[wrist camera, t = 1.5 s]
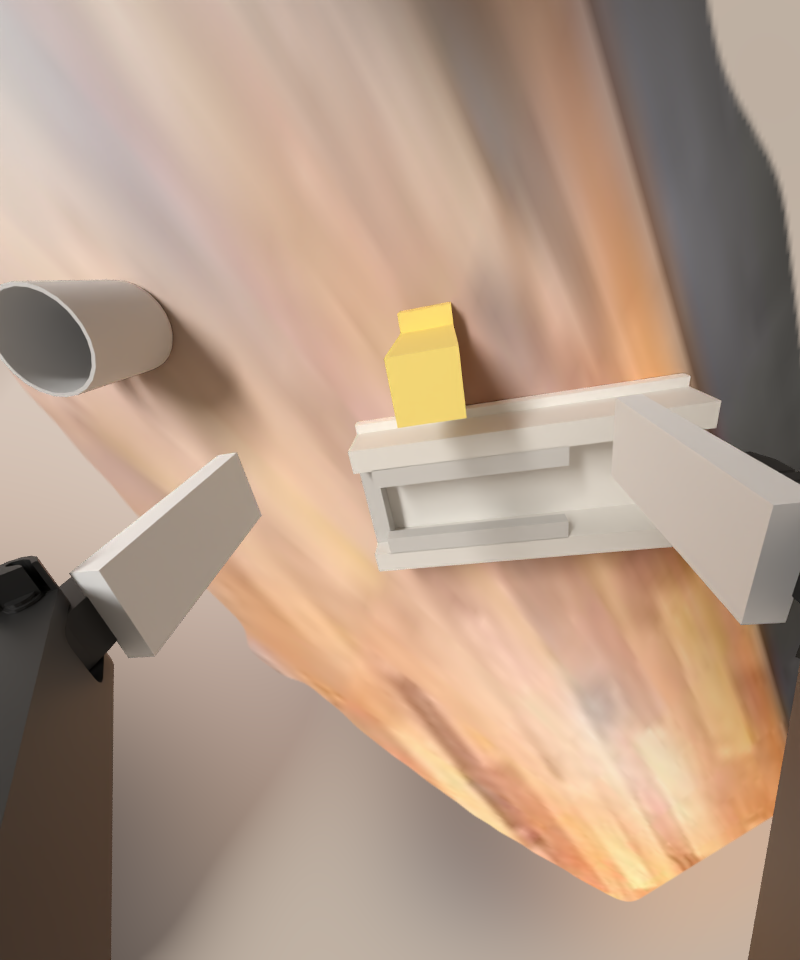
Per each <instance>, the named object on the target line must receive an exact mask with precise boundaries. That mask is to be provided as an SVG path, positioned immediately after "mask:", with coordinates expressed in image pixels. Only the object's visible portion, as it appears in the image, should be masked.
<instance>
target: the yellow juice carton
mask: <svg viewBox="0 0 800 960" xmlns="http://www.w3.org/2000/svg"><path fill="white" fill-rule="evenodd" d="M397 315H398V321H399V327H400V333H401V334H400V335H399V337H398V338H397V340H396V341H395V343H394V344H393V346H392V347H391V349H390V350H389V352H388V353H387V355H386V356H385V358H384V361H385V366H386V371H387V377H388V382H389V387H390V392H391V397H392V402H393V407H394V412H395V417H396V422H397V427H398V428H402V427H409V426H415V425H422V424H429V423H436V422H443V421H450V420H457V419H464V418H467V416H466V407H465V399H464V390H463V381H462V372H461V363H460V354H459V345H458V341H457V337H456V333H455V329H454V325H453V318H452V309H451V302H447V303H442V304H436V305H431V306H426V307H421V308H416V309H411V310H405V311H400V312H399V313H398V314H397Z"/></svg>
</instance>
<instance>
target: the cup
mask: <svg viewBox="0 0 800 960" xmlns="http://www.w3.org/2000/svg"><path fill="white" fill-rule="evenodd" d="M172 341H173V334H172V329H171V324H170V322H169V319H168V317H167V315H166V313H165V311H164V310H163V308H162V307H161V306H160V304H159V303H158V302H157V301H156V300H155V299H154V298H153V297H152V296H151V295H150V294H149V293H148V292H147V291H145V290H144V289H142V288H141V287H139V286H137V285H135V284H132V283H130V282H127V281H120V280H58V281H11V282H8V283H4V284H0V359H1V360H2V361H3V363H4V364H5V365H6V366H7V367H8V368H9V369H10V370H11V371H12V373H13V374H15V375H16V376H17V377H18V378H20V379H21V380H22V381H23V382H24V383H26V384H27V385H29V386H31V387H33V388H34V389H36V390H38V391H40V392H43V393H46V394H49V395H52V396H59V397H69V396H74V395H78V394H81V393H84V392H87V391H90V390H93V389H96V388H99V387H102V386H105V385H108V384H111V383H114V382H117V381H120V380H123V379H126V378H129V377H132V376H135V375H138V374H141V373H144V372H147V371H150V370H153V369H155V368H157V367H158V366H160V365H162V364H163V363H164V362H165V361H166V360H167V358H168V357H169V355H170V352H171V349H172Z"/></svg>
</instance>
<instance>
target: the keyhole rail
mask: <svg viewBox="0 0 800 960" xmlns="http://www.w3.org/2000/svg"><path fill="white" fill-rule="evenodd" d="M690 377H691V376H689V375H687V374H684V373H681V374H674V375H668V376H661V377H654V378H648V379H641V380H634V381H628V382H621V383H614V384H608V385H601V386H594V387H587V388H581V389H574V390H567V391H561V392H554V393H547V394H541V395H534V396H527V397H521V398H514V399H507V400H500V401H494V402H487V403H480V404H474V405H467V406H465V407H466V416H467V418H464V419H457V420H450V421H443V422H436V423H429V424H422V425H415V426H409V427H402V428H398V427H397V422H396V417H395V416H393V417H387V418H380V419H373V420H367V421H360V422H357V423H356V425H355V427H356V431H357V435H356V437H355V439H354V441H353V443H352V445H351V447H350V449H349V451H348V454H349V458H350V462H351V466H352V470H353V473H354V474H357V473H360V476H361V480H362V483H363V487H364V491H365V495H366V499H367V503H368V507H369V511H370V515H371V519H372V523H373V526H374V530H375V534H376V538H377V542H378V544H377V548H376V552H375V557H376V561H377V564H378V568H379V571H390V570H402V569H414V568H426V567H438V566H450V565H462V564H474V563H486V562H498V561H510V560H522V559H534V558H546V557H557V556H569V555H581V554H593V553H605V552H617V551H629V550H641V549H653V548H665V547H673V546H672V545H671V544H670V543H669V541H668V540H667V539H666V538H665V537H664V536H663V534H662V533H661V532H660V531H659V530H658V529H657V528H656V526H655V525H654V524H653V523H652V522H651V521H650V519H649V518H648V517H647V516H646V515H645V514H644V513H643V511H642V510H641V509H640V508H639V507H638V506H637V505H636V503H635V502H634V501H633V500H632V499H631V498H630V496H629V495H628V494H627V493H626V492H625V491H624V490H623V488H622V487H621V486H620V485H619V484H618V483H617V481H616V480H615V479H614V478H613V477H612V476H611V469H612V452H613V435H614V418H615V401H616V398H617V397H624V396H631V395H638V394H643V395H645V396H646V397H648V398H650V399H652V400H653V401H655V402H657V403H659V404H660V405H662V406H664V407H666V408H667V409H669V410H671V411H672V412H674V413H676V414H678V415H679V416H681V417H683V418H685V419H686V420H688V421H690V422H692V423H693V424H695V425H697V426H699V427H700V428H702V429H711V428H716V427H717V421H718V416H719V410H720V405H721V400H718V399H716V398H714V397H712V396H710V395H707V394H705V393H703V392H701V391H699V390H696V389H694V388H692V387H690V386H689V383H690Z"/></svg>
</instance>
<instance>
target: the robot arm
mask: <svg viewBox="0 0 800 960" xmlns="http://www.w3.org/2000/svg"><path fill="white" fill-rule="evenodd" d="M611 476H612V477H613V478H614V479H615V480H616V481H617V483H618V484H619V485H620V486H621V487H622V488H623V490H624V491H625V492H626V493H627V494H628V495H629V496H630V498H631V499H632V500H633V501H634V502H635V503H636V505H637V506H638V507H639V508H640V509H641V510H642V511H643V513H644V514H645V515H646V516H647V517H648V518H649V519H650V521H651V522H652V523H653V524H654V525H655V526H656V528H657V529H658V530H659V531H660V532H661V533H662V534H663V536H664V537H665V538H666V539H667V540H668V541H669V543H670V544H671V545H672V546H673V547H674V548H675V549H676V551H677V552H678V553H679V554H680V555H681V556H682V557H683V559H684V560H685V561H686V562H687V563H688V564H689V566H690V567H691V568H692V569H693V570H694V571H695V572H696V574H697V575H698V576H699V577H700V578H701V579H702V581H703V582H704V583H705V584H706V585H707V586H708V587H709V589H710V590H711V591H712V592H713V593H714V594H715V595H716V597H717V598H718V599H719V600H720V601H721V602H722V604H723V605H724V606H725V607H726V608H727V609H728V610H729V612H730V613H731V614H732V615H733V616H734V617H735V619H736V620H737V621H738V622H739V623H740V624H741V625H749V624H768V623H785V622H786V619H787V616H788V613H789V610H790V607H791V605H792V602H793V599H796V600H797V601H798V602H799V603H800V472H795V469H793V468H791V467H789V466H787V465H785V464H783V463H782V462H780V461H778V460H776V459H773V458H770V457H766V456H763V455H759V454H756V453H753V452H742V451H741V450H739V449H737V448H735V447H734V446H732V445H730V444H728V443H727V442H725V441H723V440H721V439H720V438H718V437H716V436H714V435H713V434H711V433H709V432H707V431H706V430H704V429H702V428H700V427H699V426H697V425H695V424H693V423H692V422H690V421H688V420H686V419H685V418H683V417H681V416H679V415H678V414H676V413H674V412H672V411H671V410H669V409H667V408H666V407H664V406H662V405H660V404H659V403H657V402H655V401H653V400H652V399H650V398H648V397H646V396H645V395H643V394H638V395H631V396H624V397H617V398H616V401H615V418H614V435H613V452H612V469H611ZM261 516H262V515H261V512H260V510H259V507H258V505H257V502H256V500H255V497H254V495H253V492H252V490H251V487H250V485H249V482H248V479H247V477H246V474H245V472H244V469H243V467H242V464H241V462H240V459H239V457H238V454H237V453H230V454H223V455H218V456H216V457H215V458H214V459H213V460H211V461H210V462H209V463H208V464H206V465H205V466H204V467H203V468H201V469H200V470H199V471H198V472H196V473H195V474H194V475H193V476H191V477H190V478H189V479H187V480H186V481H185V482H184V483H182V484H181V485H180V486H179V487H177V488H176V489H175V490H174V491H172V492H171V493H170V494H169V495H167V496H166V497H165V498H164V499H162V500H161V501H160V502H159V503H157V504H156V505H155V506H153V507H152V508H151V509H150V510H148V511H147V512H146V513H145V514H143V515H142V516H141V517H140V518H138V519H137V520H136V521H135V522H134V523H132V524H131V525H130V526H128V527H127V528H126V529H125V530H123V531H122V532H121V533H119V534H118V535H117V536H116V537H114V538H113V539H112V540H111V541H109V542H108V543H107V544H106V545H104V546H103V547H102V548H101V549H99V550H98V551H97V552H96V553H94V554H93V555H92V556H90V557H89V558H88V559H87V560H85V561H84V562H83V563H82V564H81V565H79V566H78V567H77V568H75V569H74V570H73V571H72V572H71V573H69V574H70V575H71V576H72V577H71V578H70V579H68V580H67V581H66V582H65V583H63V584H62V585H61V586H60V587H59V586H58V585H57V584H56V582H55V581H54V579H53V578H52V577H51V575H50V574H49V573H48V571H47V570H46V569H45V567H44V566H43V564H42V563H41V562H40V560H39V559H38V558H37V557H35V556H28V557H21V558H18V559H15V560H12V561H9V562H6V563H4V564H2V565H0V960H111V900H112V899H111V897H112V895H111V894H112V791H113V790H112V788H113V787H112V786H113V685H114V684H113V683H114V681H113V679H114V664H113V661H112V659H111V658H110V656H109V655H108V654H107V651H108V650H109V649H110V648H111V647H112V646H113V644H114V643H115V642H116V641H117V642H118V644H119V645H120V646H121V648H122V649H123V651H124V652H125V654H126V655H127V656H128V658H136V657H154V656H156V654H157V653H158V652H159V650H160V649H161V648H162V647H163V645H164V644H165V643H166V641H167V640H168V639H169V637H170V636H171V635H172V633H173V632H174V631H175V629H176V628H177V627H178V625H179V624H180V623H181V621H182V620H183V619H184V617H185V616H186V615H187V613H188V612H189V611H190V609H191V608H192V607H193V606H194V604H195V602H197V600H198V599H199V598H200V596H201V595H202V593H203V592H204V591H205V590H206V588H207V587H208V586H209V584H210V583H211V582H212V580H213V579H214V578H215V576H216V575H217V574H218V572H219V571H220V570H221V568H222V567H223V566H224V564H225V563H226V562H227V561H228V559H229V558H230V557H231V555H232V554H233V553H234V551H235V550H236V549H237V547H238V546H239V545H240V543H241V542H242V541H243V539H244V538H245V537H246V535H247V534H248V533H249V531H250V530H251V529H252V527H253V526H254V525H255V523H256V522H257V521H258V519H259V518H260V517H261ZM796 657H797V658H800V646H799V649H798V651H797V654H796ZM748 960H800V666H799V671H798V677H797V683H796V688H795V694H794V700H793V706H792V711H791V717H790V723H789V728H788V734H787V740H786V745H785V751H784V757H783V763H782V768H781V774H780V780H779V785H778V791H777V797H776V802H775V808H774V814H773V820H772V825H771V831H770V837H769V843H768V848H767V854H766V859H765V865H764V871H763V877H762V882H761V888H760V894H759V899H758V905H757V911H756V917H755V922H754V928H753V934H752V939H751V945H750V951H749V956H748Z"/></svg>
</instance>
